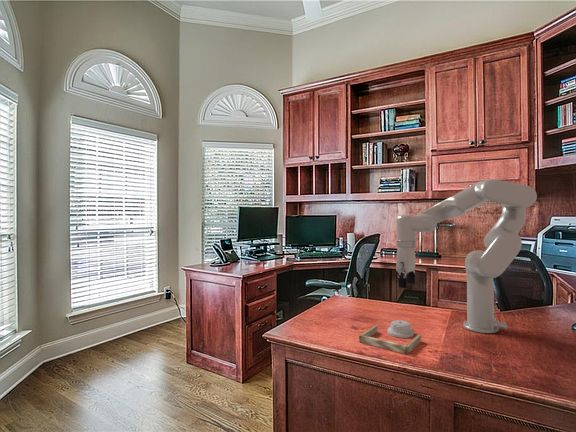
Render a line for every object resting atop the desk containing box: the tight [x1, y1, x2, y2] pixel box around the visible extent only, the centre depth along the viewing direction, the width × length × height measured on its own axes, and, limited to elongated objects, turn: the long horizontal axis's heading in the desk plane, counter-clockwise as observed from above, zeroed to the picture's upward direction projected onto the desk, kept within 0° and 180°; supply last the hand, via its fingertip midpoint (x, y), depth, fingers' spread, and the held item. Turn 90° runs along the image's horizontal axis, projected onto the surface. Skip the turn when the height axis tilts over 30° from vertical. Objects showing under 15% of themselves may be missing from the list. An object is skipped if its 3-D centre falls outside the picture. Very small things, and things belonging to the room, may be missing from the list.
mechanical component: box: [387, 319, 415, 339], centre depth 134 cm, size 10×4×10 cm
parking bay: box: [358, 324, 422, 355], centre depth 126 cm, size 18×14×2 cm
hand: (407, 285), depth 142 cm, fingers open, 9 cm apart
